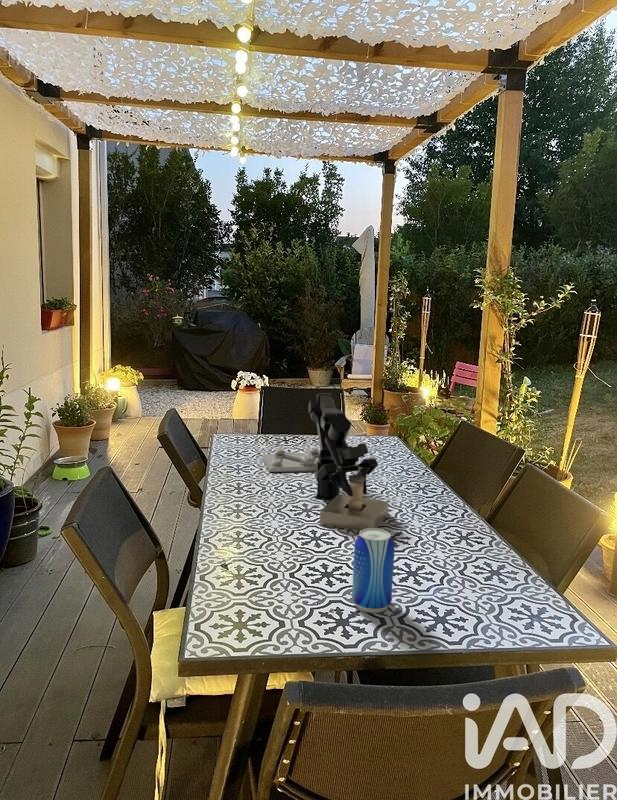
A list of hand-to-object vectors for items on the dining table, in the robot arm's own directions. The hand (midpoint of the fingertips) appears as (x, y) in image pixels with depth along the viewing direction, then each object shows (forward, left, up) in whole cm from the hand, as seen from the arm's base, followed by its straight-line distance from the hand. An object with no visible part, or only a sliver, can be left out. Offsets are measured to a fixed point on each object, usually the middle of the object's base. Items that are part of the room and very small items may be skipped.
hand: (358, 494), depth 182 cm
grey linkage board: (-36, +50, -9) cm, 62 cm away
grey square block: (-1, +1, -8) cm, 8 cm away
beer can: (+17, -47, -8) cm, 51 cm away
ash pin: (-1, +1, -8) cm, 8 cm away
